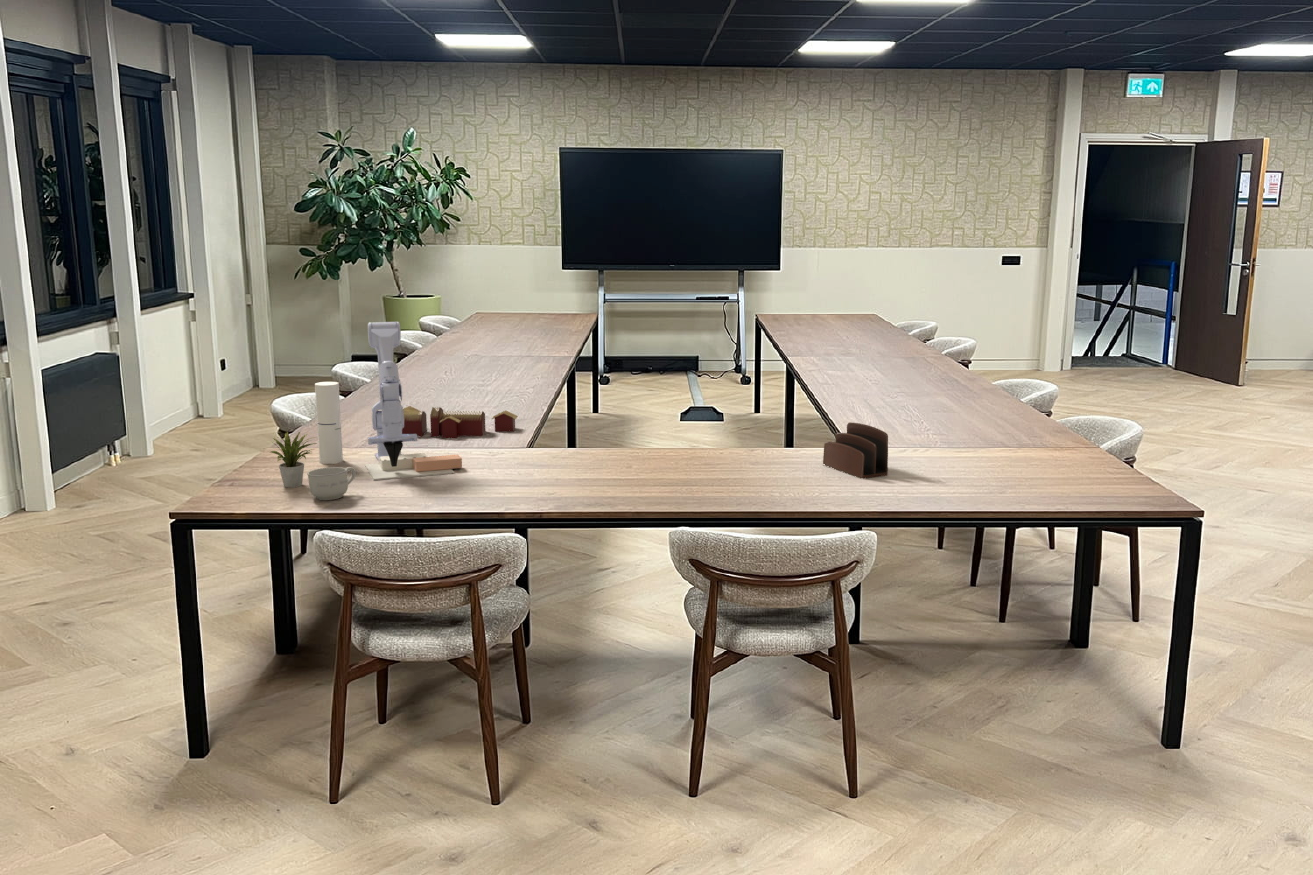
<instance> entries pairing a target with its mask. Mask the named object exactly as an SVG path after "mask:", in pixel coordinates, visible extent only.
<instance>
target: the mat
mask: <svg viewBox="0 0 1313 875" xmlns="http://www.w3.org/2000/svg"><path fill="white" fill-rule="evenodd" d="M364 467H365V469H366V470H367V472H368V473H369V475H370V477H371V479H372V480H373V481H382V480H395V479H405V478H406V479H407V478H417V477H427V476H438V475H439V476H441V475H450V474H451V475H452V473H453V474H455V471H454V470H453V469H442V470H431V471H419V472H416V471H415V469H414V468H405V469H393V470H382V469H381V467H380V464H379V463H369V464H367V463H366V464H364Z"/></svg>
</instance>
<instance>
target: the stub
mask: <svg viewBox="0 0 1313 875" xmlns="http://www.w3.org/2000/svg"><path fill="white" fill-rule="evenodd" d="M413 468H414V469H415V471H416V472H419V471H431V470H442V469H452V470H453V469H462V468H463V458H462V457H461V456H460V455H459V454H457V453H456V454H446V455H435V456H428V457H420V458H413Z"/></svg>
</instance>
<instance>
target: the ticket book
mask: <svg viewBox="0 0 1313 875" xmlns="http://www.w3.org/2000/svg"><path fill="white" fill-rule="evenodd" d="M420 457H429V456H428V455H427V454H426V453H425V452H420V453H408V454H407V453H406V454H402V455H399V457H398V461H397V466H395V467H392V466H391V461H390V458H389V456H381V457H379V460H378V461H379V464H380V467H381V469H382V470H393V469H405V468H413V458H420Z"/></svg>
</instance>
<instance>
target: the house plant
mask: <svg viewBox="0 0 1313 875" xmlns="http://www.w3.org/2000/svg"><path fill="white" fill-rule="evenodd" d="M300 434H301V431H299V432H298V433H297V434H296V436H295V437H294V438H293V441H292V442H291V437H290V435H289V432H288V430H286V432H285V433H284V438H282V437H279V436H278V437H276V438H279V439H281V440H282V441H283V442H284V444H283V443H282V442H280V441H279V440H277V439H276V438H273V440H274V441H271V442H272V444H274V445H275V446H276V447H277V449H278V450H280V451H281V453H280V452H278V451H276V450H272V451H269V453H271V454H275V455H278V456H277V462H279V461H281V460H282V461H283V462H282V463H280V464H278V469H279V473H280V475H281V480H282V484H283V485H282V486H283V487H284V486H285V488H289V489H291V488H298V487H301V486H303V479H304V471H305V469H304V468H305V463H304V462H303V461H302V462H301V461H300V460H301V459H302V458H304V459H305V460H307V458H306V455H309V454H311V455H312V454H314V453H313V451H312V450H315V449H305V450H303V449H304V448H308V447H309V446H312V445H316V444H318V442H317V443H316V442H314V443H313V442H311V443H309V440H311V439H312V437H310V438H307V439H305V438H306V437H307V435H308V433H306V434H303V435H302V436H301V437H300V439H299V436H300ZM315 438H316V436H315V437H314V436H313V439H315ZM298 439H299V440H298ZM304 439H305V440H304ZM277 445H278V446H277ZM301 450H302V451H301Z"/></svg>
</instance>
